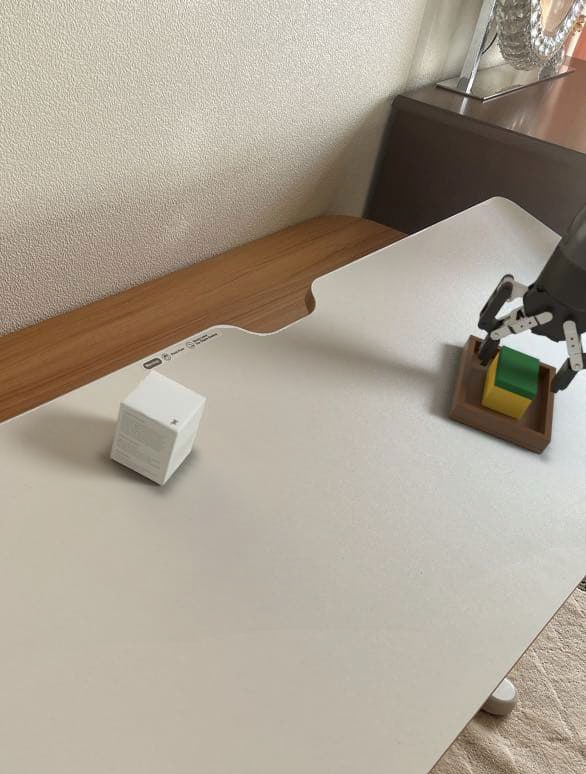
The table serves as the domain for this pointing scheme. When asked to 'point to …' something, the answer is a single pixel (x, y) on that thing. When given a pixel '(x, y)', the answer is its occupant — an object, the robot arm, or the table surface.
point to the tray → (523, 431)
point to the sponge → (511, 382)
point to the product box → (156, 427)
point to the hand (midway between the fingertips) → (517, 375)
